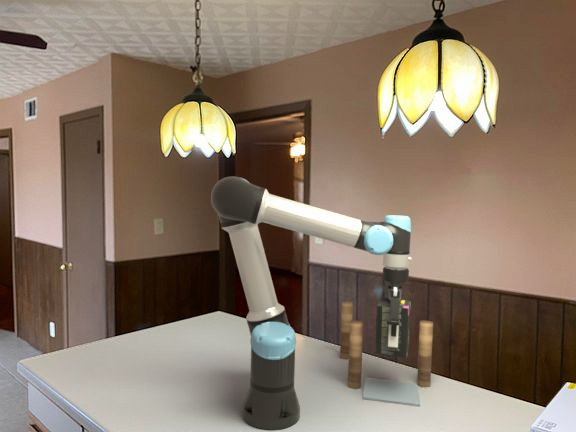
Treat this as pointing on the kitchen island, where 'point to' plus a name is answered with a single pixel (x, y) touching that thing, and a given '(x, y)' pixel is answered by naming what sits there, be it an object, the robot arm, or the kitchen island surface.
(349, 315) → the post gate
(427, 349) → the post
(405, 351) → the tampon box
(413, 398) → the pad
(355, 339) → the post corner
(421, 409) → the kitchen island surface
